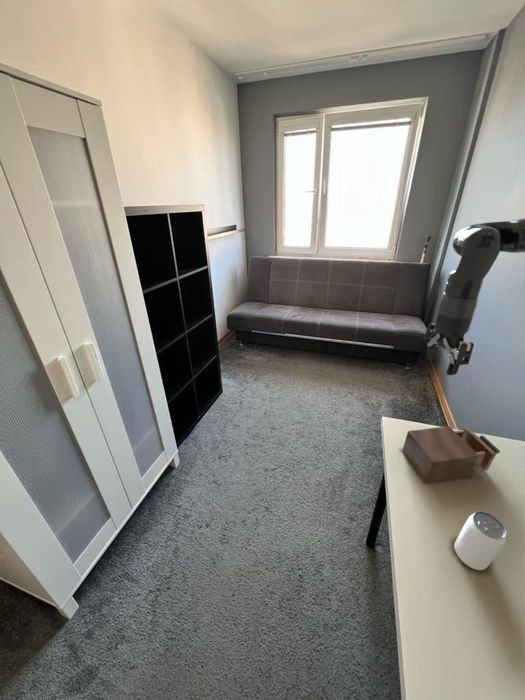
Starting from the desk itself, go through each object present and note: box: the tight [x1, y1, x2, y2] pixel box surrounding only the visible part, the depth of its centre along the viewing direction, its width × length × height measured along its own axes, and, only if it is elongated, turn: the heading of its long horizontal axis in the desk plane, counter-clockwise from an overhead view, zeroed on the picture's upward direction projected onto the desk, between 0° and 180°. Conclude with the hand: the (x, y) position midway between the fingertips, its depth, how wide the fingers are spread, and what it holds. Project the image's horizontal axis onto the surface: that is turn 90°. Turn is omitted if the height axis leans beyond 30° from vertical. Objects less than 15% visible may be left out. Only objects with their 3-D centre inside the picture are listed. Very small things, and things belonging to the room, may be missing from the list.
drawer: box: [453, 426, 501, 471], centre depth 84 cm, size 17×10×7 cm, turn 97°
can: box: [454, 510, 507, 571], centre depth 60 cm, size 6×6×12 cm
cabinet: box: [401, 425, 479, 483], centre depth 83 cm, size 14×12×9 cm
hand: (439, 366), depth 78 cm, fingers open, 8 cm apart
